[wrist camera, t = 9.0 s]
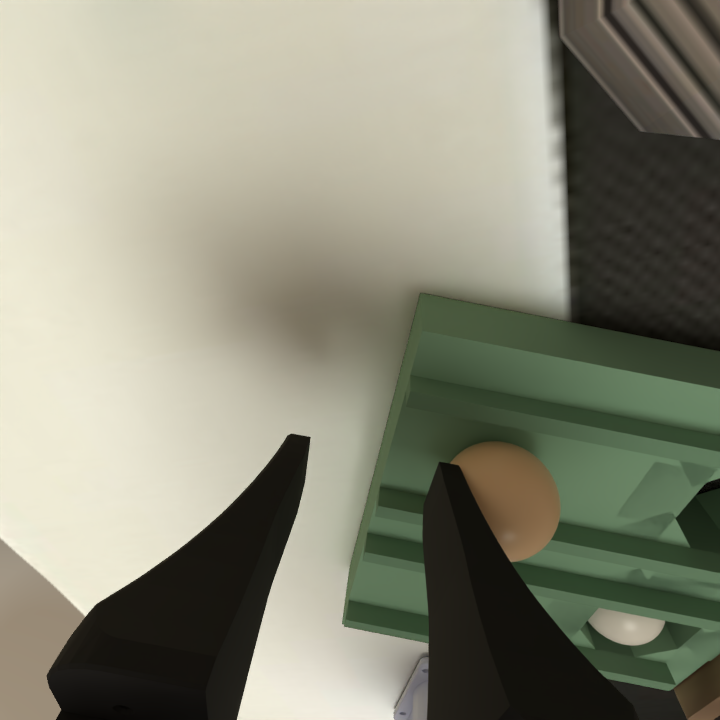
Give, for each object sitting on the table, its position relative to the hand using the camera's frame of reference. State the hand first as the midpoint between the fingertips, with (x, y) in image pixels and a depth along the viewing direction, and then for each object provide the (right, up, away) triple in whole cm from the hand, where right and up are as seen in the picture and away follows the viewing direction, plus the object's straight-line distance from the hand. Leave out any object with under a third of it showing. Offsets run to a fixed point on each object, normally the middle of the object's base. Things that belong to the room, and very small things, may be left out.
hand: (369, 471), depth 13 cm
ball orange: (+4, -1, 0) cm, 4 cm away
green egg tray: (+9, -3, +6) cm, 11 cm away
